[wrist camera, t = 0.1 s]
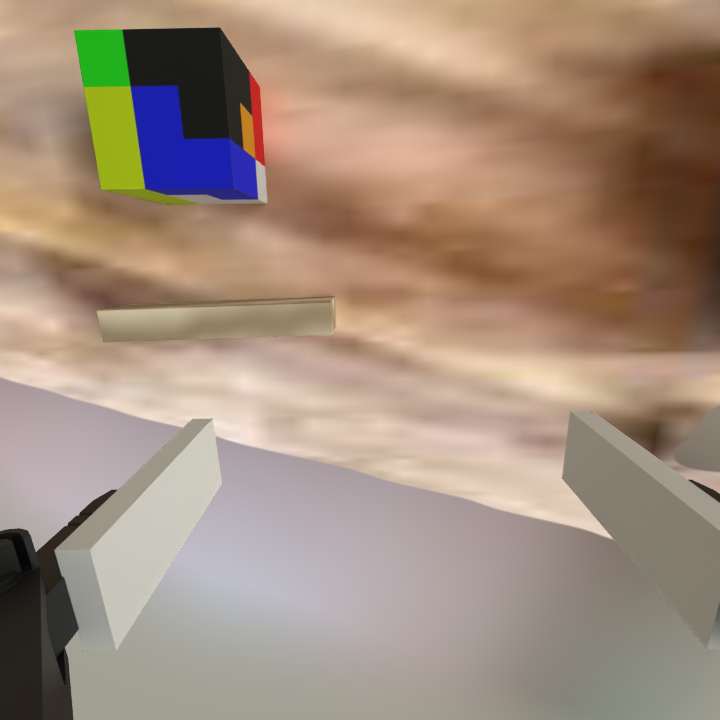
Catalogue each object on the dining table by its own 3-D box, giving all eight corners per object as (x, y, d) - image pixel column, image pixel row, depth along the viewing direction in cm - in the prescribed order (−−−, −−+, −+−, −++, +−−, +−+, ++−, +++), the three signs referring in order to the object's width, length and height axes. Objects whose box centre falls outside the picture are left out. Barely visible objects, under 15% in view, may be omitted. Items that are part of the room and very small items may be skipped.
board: (128, 304, 42) (96, 311, 37) (334, 296, 41) (330, 302, 36) (133, 331, 42) (103, 342, 38) (336, 325, 42) (331, 334, 37)
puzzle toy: (267, 203, 39) (233, 188, 29) (167, 204, 39) (101, 189, 29) (259, 87, 36) (220, 27, 26) (152, 89, 36) (74, 30, 27)
